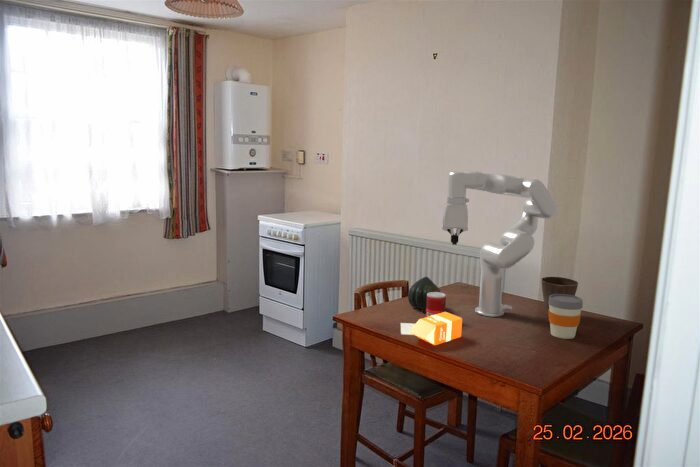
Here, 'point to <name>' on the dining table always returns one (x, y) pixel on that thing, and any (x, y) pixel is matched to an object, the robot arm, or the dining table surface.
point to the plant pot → (557, 288)
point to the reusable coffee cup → (564, 315)
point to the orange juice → (438, 328)
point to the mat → (406, 328)
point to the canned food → (435, 303)
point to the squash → (421, 292)
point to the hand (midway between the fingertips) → (454, 244)
